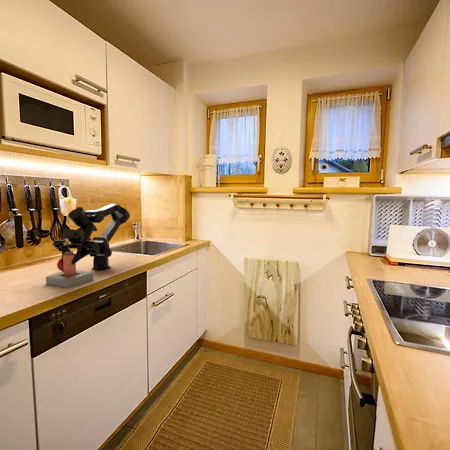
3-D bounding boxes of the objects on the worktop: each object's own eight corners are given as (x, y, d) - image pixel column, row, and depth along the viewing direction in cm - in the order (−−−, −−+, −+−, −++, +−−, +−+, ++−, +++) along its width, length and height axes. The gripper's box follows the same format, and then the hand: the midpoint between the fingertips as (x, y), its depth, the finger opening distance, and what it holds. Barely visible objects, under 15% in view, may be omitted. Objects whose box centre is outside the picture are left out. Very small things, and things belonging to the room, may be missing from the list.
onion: (69, 269, 130) (68, 253, 129) (74, 272, 126) (73, 255, 125) (55, 272, 125) (54, 255, 124) (60, 274, 122) (59, 257, 121)
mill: (66, 277, 113) (65, 251, 112) (78, 276, 114) (76, 251, 113) (62, 280, 109) (60, 253, 108) (73, 279, 110) (72, 253, 109)
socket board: (72, 276, 119) (72, 269, 119) (93, 279, 115) (92, 272, 115) (46, 283, 108) (45, 276, 108) (67, 287, 104) (66, 280, 104)
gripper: (54, 221, 115) (34, 251, 105) (94, 222, 112) (77, 253, 102) (68, 236, 123) (51, 266, 113) (106, 238, 120) (91, 268, 111)
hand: (67, 263), depth 110 cm, fingers closed on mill, 4 cm apart
